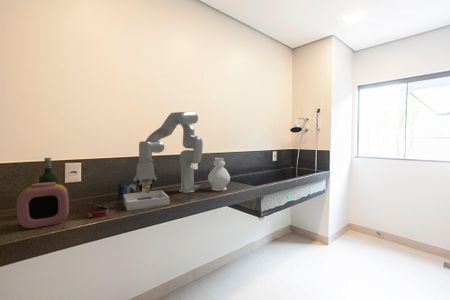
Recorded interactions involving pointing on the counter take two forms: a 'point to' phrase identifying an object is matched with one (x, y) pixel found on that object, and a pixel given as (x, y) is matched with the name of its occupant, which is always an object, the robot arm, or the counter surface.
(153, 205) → the walled box
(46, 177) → the wine bottle
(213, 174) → the decorative vase
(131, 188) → the small box
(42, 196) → the alarm clock
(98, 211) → the canned food
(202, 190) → the counter surface
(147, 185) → the plug
